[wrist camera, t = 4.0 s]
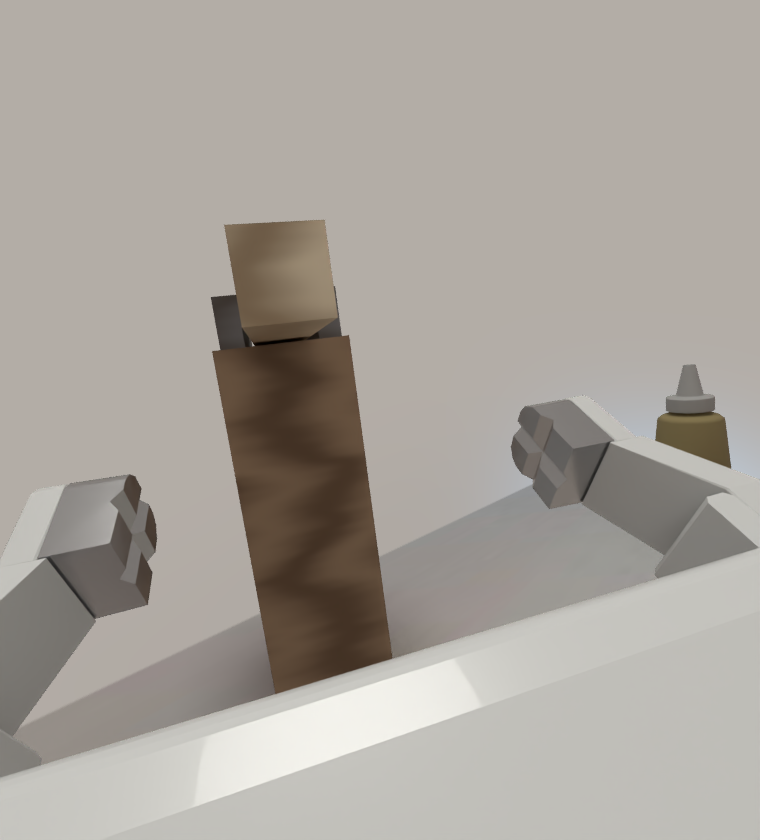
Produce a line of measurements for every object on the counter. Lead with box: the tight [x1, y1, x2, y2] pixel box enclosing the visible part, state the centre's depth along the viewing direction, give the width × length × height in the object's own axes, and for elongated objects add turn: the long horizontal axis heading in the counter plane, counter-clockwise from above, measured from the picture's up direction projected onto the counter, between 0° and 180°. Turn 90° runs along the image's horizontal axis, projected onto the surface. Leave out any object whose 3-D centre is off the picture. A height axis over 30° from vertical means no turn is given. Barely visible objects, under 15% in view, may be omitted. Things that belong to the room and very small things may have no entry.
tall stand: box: [211, 286, 392, 694], centre depth 30 cm, size 7×12×28 cm, turn 15°
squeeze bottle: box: [655, 365, 731, 469], centre depth 50 cm, size 8×8×18 cm
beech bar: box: [224, 220, 338, 346], centre depth 22 cm, size 3×18×3 cm, turn 15°
